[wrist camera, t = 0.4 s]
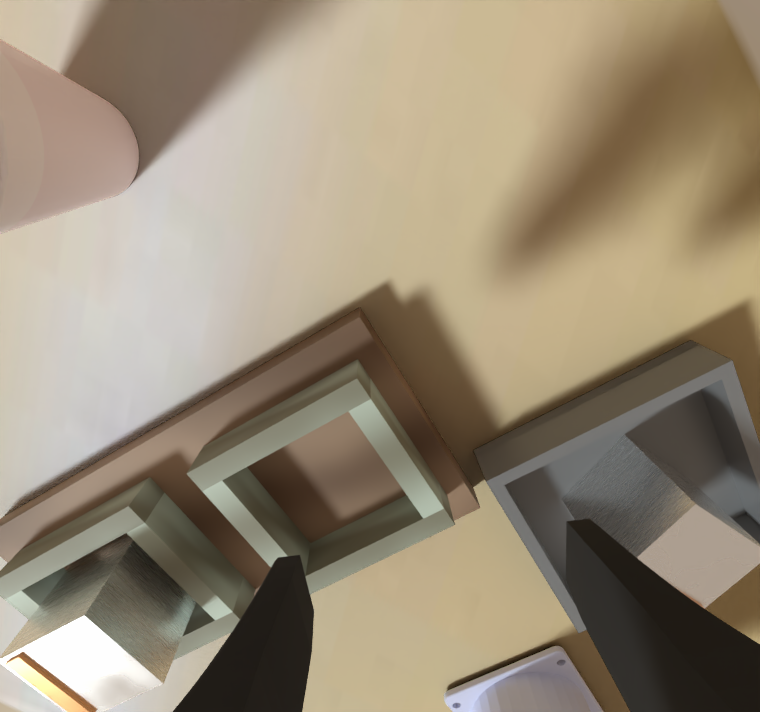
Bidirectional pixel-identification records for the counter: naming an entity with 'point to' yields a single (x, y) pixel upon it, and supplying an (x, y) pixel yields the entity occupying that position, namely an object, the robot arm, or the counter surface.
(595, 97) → the counter surface
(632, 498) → the block
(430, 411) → the counter surface
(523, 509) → the gray square tray
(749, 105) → the counter surface
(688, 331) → the counter surface
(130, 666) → the billet
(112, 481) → the double pocket tray
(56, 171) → the smoothie
